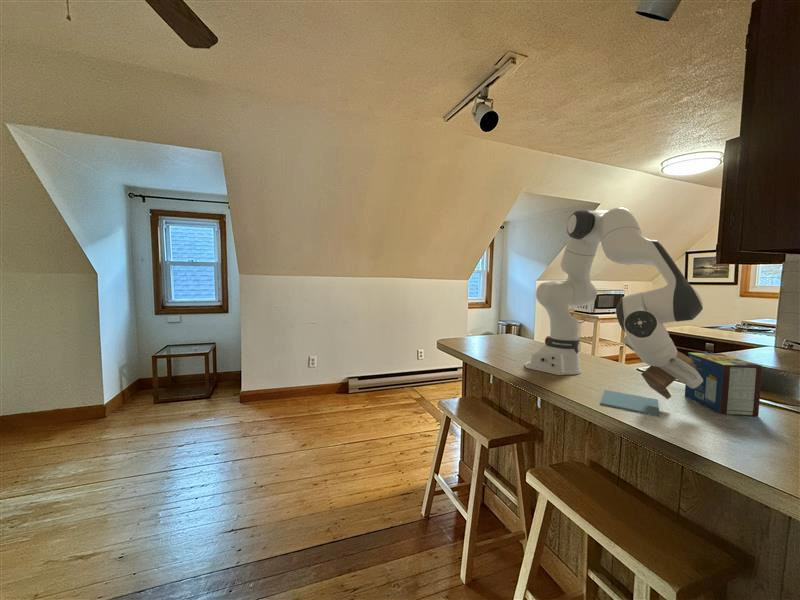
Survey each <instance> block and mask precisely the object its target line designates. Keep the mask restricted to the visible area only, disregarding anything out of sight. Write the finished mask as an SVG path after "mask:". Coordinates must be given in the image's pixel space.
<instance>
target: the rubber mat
mask: <svg viewBox="0 0 800 600" xmlns="http://www.w3.org/2000/svg"><path fill="white" fill-rule="evenodd" d="M599 405H601V406H605V407H609V408H610V407H611V408H614V409H615V408H616V409H621V410H625V411H628V412H629V411H630V412H635V413H638V412H640V414H643V413H645V414H644V415H648V414H649V415H648V416H653V417H654V416H655V417H659V418H660V408H659V399H657V398H653V397H647V396H640V395H636V394H635V395H634V394H629V393H624V392H621V391H614V390H610V389H609V390H608V389H604V391H603V394H602V397H601V400H600V402H599Z"/></svg>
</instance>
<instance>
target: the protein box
mask: <svg viewBox="0 0 800 600" xmlns="http://www.w3.org/2000/svg"><path fill="white" fill-rule="evenodd" d="M687 357H689V358H691V359H692V360H693V362H694V364H695V366H696V368H697V370H698V372H699V374H700V376H701V377H702V379H703V382H702V383H701V384H700V385H699V386H698V387H696V388H694V389H693V388H690V387H688V386H687V385H685V384H684V385H685V388H684V397H686V398H687V399H689V398H690V400H691V399H692V400H691V401H693V400H694V402H695V401H696V402H695V403H697V402H698V404H699V403H700V404H699V405H702V406H703V407H705V408H707V409H708V408H709V410H710V409H711V411H712V410H713V411H712V412H714V413H717V414H718V413H719V415H726V414H733V415H732V416H743V415H745V416H744V417H746V416H747V417H759V413H760V398H761V390H762V389H761V388H762V375H763V365H761V364H758V363H755V362H751V361H747V360H744V359H740V358H737V357H733V356H730V355H727V354H724V353H712V352H710V353H708V352H707V353H706V352H705V353H704V352H687Z"/></svg>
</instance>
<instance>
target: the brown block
mask: <svg viewBox="0 0 800 600" xmlns="http://www.w3.org/2000/svg"><path fill="white" fill-rule="evenodd" d="M676 357H677V358H678V359H680V360H682V361H683V362H685V363H687V364H688V365H690V366H691V367H693V368H694V369H695V370H696V371H697V372H698V370H697V368H696V366H695V364H694V362H693V360H692V359H691V358H689V357H688V355H686V354H684V353H683V352H681V351H679V350H677V356H676ZM698 373H699V372H698ZM640 376H642V378H643V379H644V381H645V382H646V383H647V385H648V386H649V388H650V389H653V391H655V392H656V393H658V394H660V395H661V396H662V397H663V398H665V399H666V400H669V399H670V398H672V395H671V393H670V392H669V390H668V387H669V386H670V385H671V384H672V383H673V382H675V381H677V379H676V378H675V377H673V376H672V375H670V374H669V373H667V372H666V371H664V370H662V369H661V368H659V367H656V366H651V365H649V366H648V367H647V368H646V369H645V370H643V372H641V374H640Z"/></svg>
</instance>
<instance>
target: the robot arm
mask: <svg viewBox="0 0 800 600" xmlns="http://www.w3.org/2000/svg"><path fill="white" fill-rule="evenodd" d="M566 232H567V234H568V236H569V238H568V240H567V243H566V246H565V248H564V252H563V255H562V258H561V261H560V268H561V270H562V271H563V272H564V273H565V274H567V279H566V280H551V281H550V280H549V281H546V282H542V283H540V284H539V285H538V286H537V287H536V291H535V297H536V300H537V302H538V303H539V304H540V305H541V306H542V307H543V308H544V309H545V310H546V312H547V315H548V317H549V324H550V325H549V327H550V328H549V335H547V336H546V337H545V339H544V345H542V346H540V347H539V348H537V349H536V350H535V351H533V352H532V353H531V356H530V360H528V361H526V362H524V367H525V368H526V369H529V370H535V371H538V372H544V373H548V374H552V375H557V376H564V375H566V376H567V375H568V376H569V375H580V374H582V370H581V367H580V366H581V365H580V359H579V352H580V344H581V343H580V339H579V334H580V333H579V332H580V322H579V320H578V319H577V318H576V317H575V316H573V315H572V314H571V313H570V311H569V310H570V309H569V307H584V306H588V305H592V304H593V303H594V302H595V301H596V299H597V296H598V292H597V288H596V286H595V285H594V284H593V283H592V281H591V278H590V276H591V275H590V273H591V269H592V265H593V262H594V259H595V256H596V253H597V251H598V250H597V249H598V247H599V243H601V246H602V250H603V252H604V254H605V257H606V258H607V259H608V260H610V261H611V262H613V263H616V264H620V265H627V266H628V265H647V266H653V267H654V268H657V269H658V271H659V273H660V274H661V275H662V278H663V279H664V281H665V282H666V283H667V285H664V286H663V287H659V288H655V289H651V290H647V291H642V292H638V293H634V294H629V295H625V296H623V297H621V298H620V300H619V301H618V303H617V305H616V307H615V313H616V314H615V315H616V318H617V321H618V324H619V326H620V328H621V329H622V332H624V333H625V335H626V336H625V337H624V338H623V339H622V340H621V342H622V343H623V345H625V346H626V347H627V348H629V349H630V350H631V351H633V352H634V353H635V354H636V355H637V357H639V359H640V360H641V361H642V362H643V363H644V364H646V365H648V366H656V367H659V368H661V369H662V370H664V371H666V372H667V373H669V374H670V375H672V376H673V377H675V378H676V381H679V382H681V383H682V384H684V385H687V386H688V387H690V388H693V389H694V388H696V387H698V386H699V385H700V384H701V383H702V382H703V379H702V377H701V376H700V374H699V373H698V372H697V371H696V370H695V369H694V368H693V367H691V366H690V365H688V364H687V363H685V362H683V361H682V360H680V359H678V358H677V357H676V356H677V351H678V350H677V346H676V345H675V343H674V341H673V340H672V338H671V337H670V334H669V332H668V330H667V328H666V326H665V325H664V324H667V323H674V322H686V321H693V320H694V319H695V318H697V317H698V316H699V315H700V314H701V313H702V311H703V310H704V309H703V307H704V306H703V305H704V303H703V300H702V298H701V295H700V293H699V292H698V291H697V290H696V289H695V287H693V286H692V285H691V284H690V282H689V281H688V280H687V278H686V277H685V276H684V274H683V273H682V271H681V270H680V268H679V267H678V266H677V264H676V263H675V261H674V259H673V258H672V257H671V256H670V254H669V252H668V251H667V250H666V249H665V247H664V246H663V245H662V244H661V243H660V242H659V241H658V240H655V239H649V238H647V237H646V236H644V235H643V232H642V230H641V227H640V225H639V222H638V221H637V219H636V217H635V216H634V214H633V213H632V212H631V210H629V209H628V208H624V207H615V208H611V209H609V210H605V209H603V210H593V209H592V210H587V209H581V210H576V211H574V212H573V213H571V215H570V216H569V217H568V221H567V223H566Z"/></svg>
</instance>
